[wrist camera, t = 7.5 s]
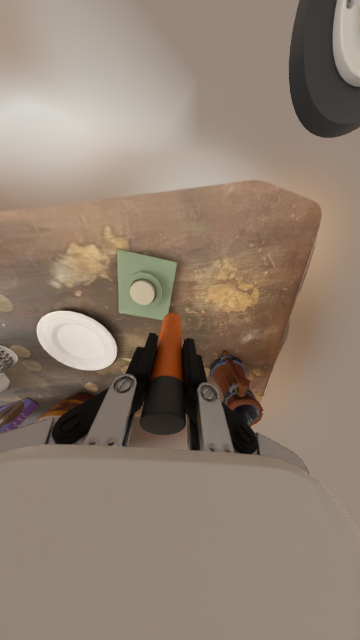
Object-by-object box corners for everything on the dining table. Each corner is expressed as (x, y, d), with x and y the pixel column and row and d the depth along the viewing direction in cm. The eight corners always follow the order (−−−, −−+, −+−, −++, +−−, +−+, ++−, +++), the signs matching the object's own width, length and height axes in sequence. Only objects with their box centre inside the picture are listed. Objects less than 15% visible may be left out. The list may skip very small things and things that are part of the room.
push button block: (119, 249, 26) (113, 249, 23) (177, 261, 27) (177, 262, 25) (121, 310, 32) (115, 315, 30) (167, 318, 34) (166, 324, 31)
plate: (117, 314, 33) (114, 317, 31) (121, 369, 43) (119, 374, 41) (30, 301, 31) (21, 304, 29) (55, 362, 41) (49, 367, 39)
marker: (164, 310, 15) (140, 410, 6) (182, 314, 16) (190, 414, 6) (162, 326, 16) (138, 434, 7) (179, 329, 17) (181, 436, 7)
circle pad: (132, 277, 26) (129, 278, 25) (156, 282, 27) (155, 283, 25) (132, 299, 28) (129, 302, 27) (154, 304, 29) (153, 306, 27)
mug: (204, 343, 38) (217, 392, 25) (243, 336, 37) (280, 383, 23) (210, 381, 46) (224, 433, 33) (243, 376, 45) (270, 428, 32)
